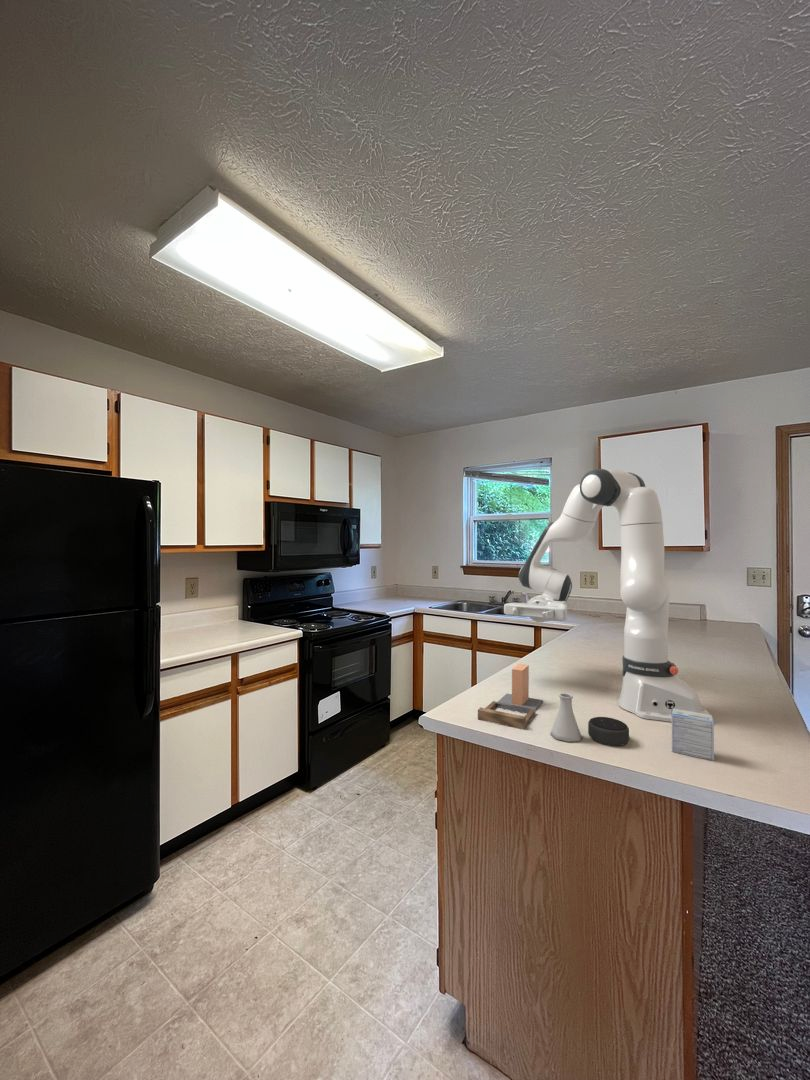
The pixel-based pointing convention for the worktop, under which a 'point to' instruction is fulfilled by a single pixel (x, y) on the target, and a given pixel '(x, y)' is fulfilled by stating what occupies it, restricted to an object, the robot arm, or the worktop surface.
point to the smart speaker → (608, 731)
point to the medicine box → (693, 734)
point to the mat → (529, 703)
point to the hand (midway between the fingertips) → (529, 613)
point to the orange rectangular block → (520, 684)
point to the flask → (566, 721)
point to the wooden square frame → (506, 715)
